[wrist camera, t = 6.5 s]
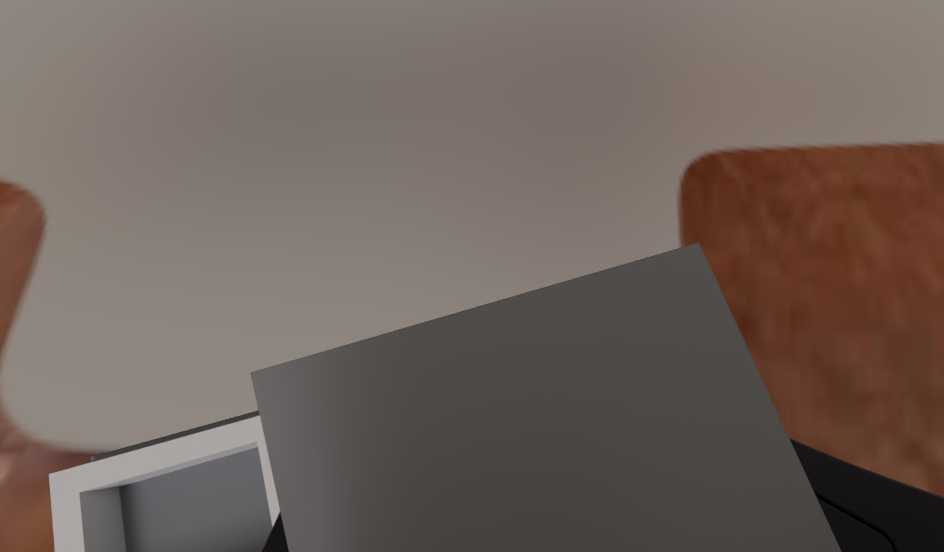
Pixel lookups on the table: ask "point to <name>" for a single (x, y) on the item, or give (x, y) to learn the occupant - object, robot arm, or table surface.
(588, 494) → the white plug
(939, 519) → the robot arm
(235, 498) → the socket board
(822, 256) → the table surface
